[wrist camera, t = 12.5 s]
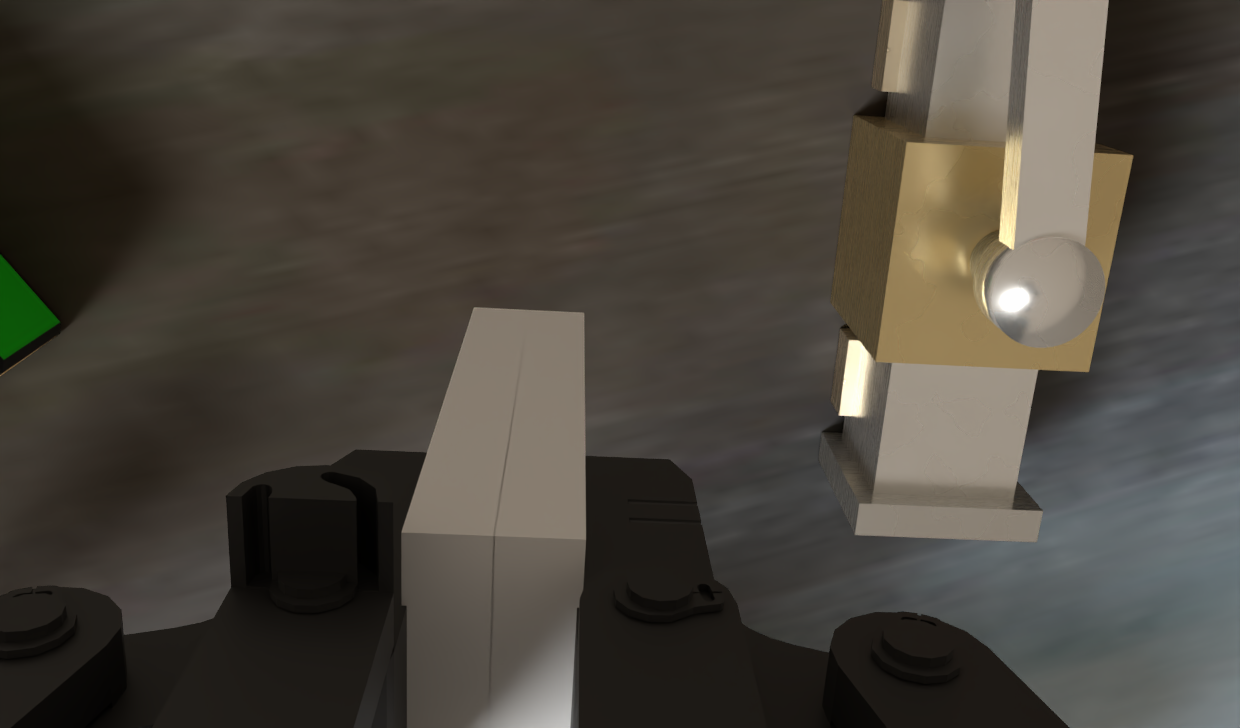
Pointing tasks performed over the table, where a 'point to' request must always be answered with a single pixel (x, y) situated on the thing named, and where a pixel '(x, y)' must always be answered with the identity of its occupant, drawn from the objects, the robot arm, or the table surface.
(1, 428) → the table surface
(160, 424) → the table surface
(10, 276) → the puzzle cube
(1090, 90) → the valve lever
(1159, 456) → the table surface
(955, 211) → the valve pipe
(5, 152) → the table surface
